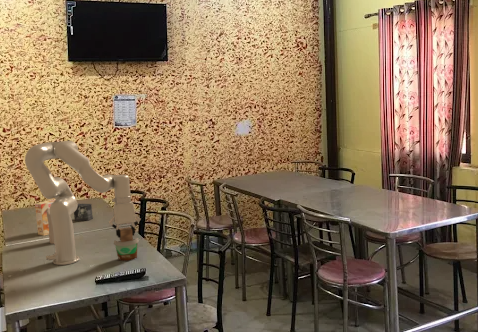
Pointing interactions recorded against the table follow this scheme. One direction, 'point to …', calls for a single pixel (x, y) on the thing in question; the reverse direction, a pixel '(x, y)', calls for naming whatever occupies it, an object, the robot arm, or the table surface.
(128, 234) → the walnut block
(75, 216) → the box
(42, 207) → the coffeecake box
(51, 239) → the candle
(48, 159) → the robot arm
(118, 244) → the food container
